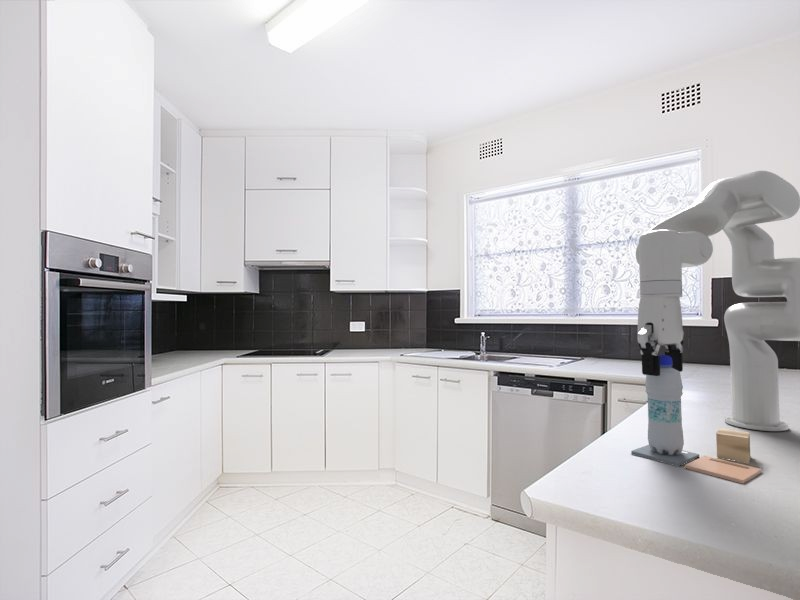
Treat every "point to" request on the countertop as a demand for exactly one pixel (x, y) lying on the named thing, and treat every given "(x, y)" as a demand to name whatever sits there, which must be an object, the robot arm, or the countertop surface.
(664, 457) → the slate mat
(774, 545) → the countertop surface
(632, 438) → the countertop surface
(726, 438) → the oak block
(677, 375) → the bottle
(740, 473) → the terracotta tile
